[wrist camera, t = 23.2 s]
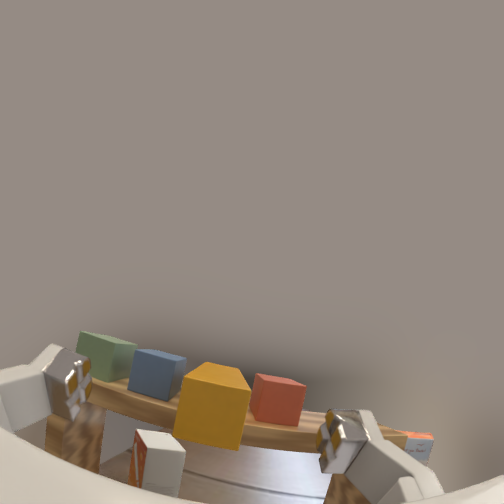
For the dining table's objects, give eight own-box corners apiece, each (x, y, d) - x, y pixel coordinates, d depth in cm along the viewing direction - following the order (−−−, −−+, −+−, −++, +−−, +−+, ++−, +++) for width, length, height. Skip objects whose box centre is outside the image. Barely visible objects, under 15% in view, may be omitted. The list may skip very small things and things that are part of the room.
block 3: (298, 426, 25) (306, 386, 27) (255, 420, 25) (264, 379, 26) (282, 410, 33) (289, 378, 34) (248, 405, 33) (255, 373, 34)
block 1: (107, 383, 25) (115, 343, 26) (72, 369, 25) (79, 330, 26) (131, 376, 33) (138, 344, 34) (101, 366, 33) (108, 335, 34)
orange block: (238, 451, 16) (251, 390, 17) (171, 436, 16) (183, 375, 17) (232, 399, 35) (238, 368, 36) (199, 392, 35) (206, 361, 36)
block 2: (167, 402, 25) (176, 360, 26) (126, 389, 25) (135, 349, 26) (180, 390, 33) (187, 358, 34) (147, 381, 33) (154, 349, 34)
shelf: (341, 598, 16) (408, 435, 24) (47, 545, 16) (54, 366, 23) (317, 554, 28) (360, 415, 35) (83, 509, 27) (100, 363, 34)
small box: (126, 489, 39) (135, 427, 43) (160, 492, 41) (170, 432, 46) (137, 513, 32) (146, 446, 36) (175, 515, 35) (187, 450, 39)
